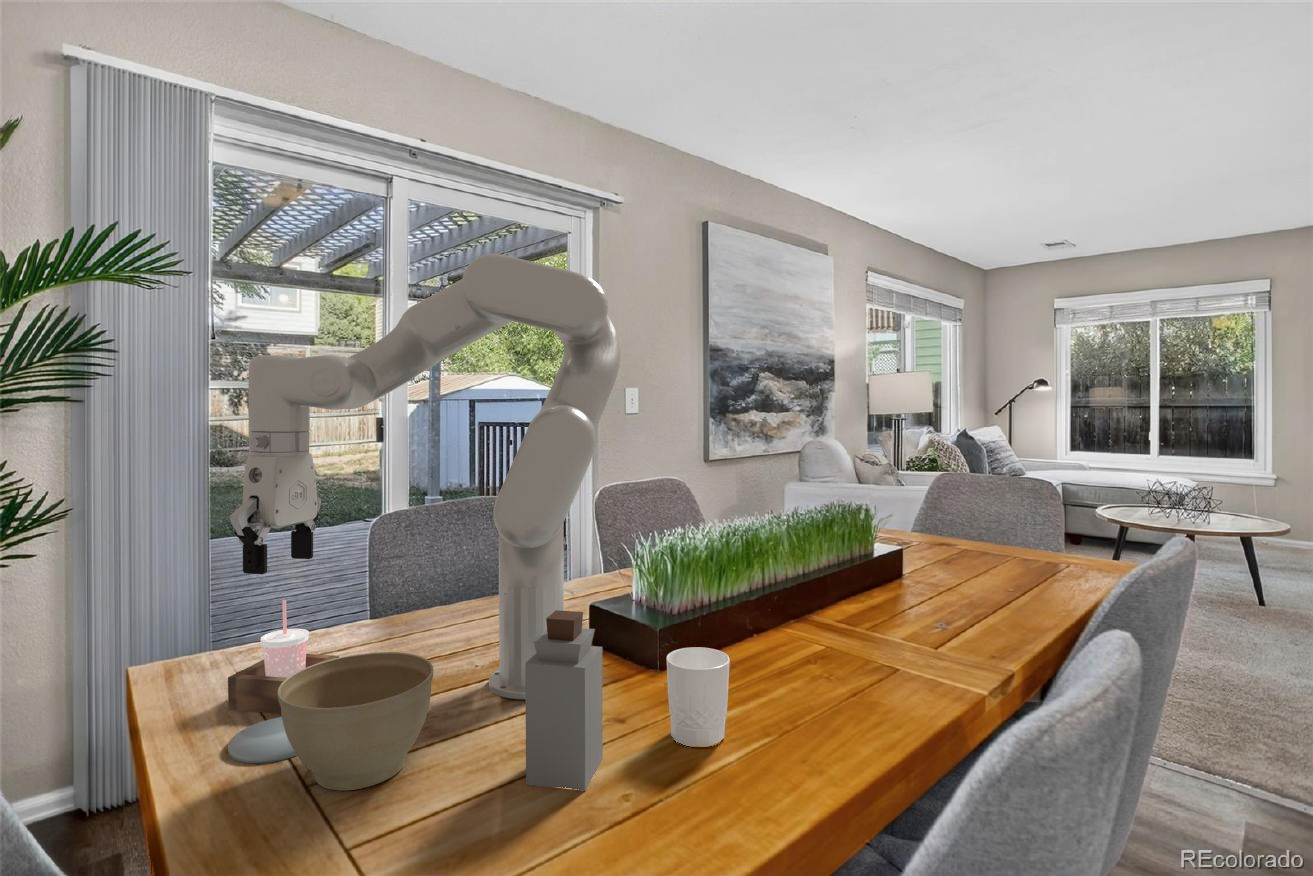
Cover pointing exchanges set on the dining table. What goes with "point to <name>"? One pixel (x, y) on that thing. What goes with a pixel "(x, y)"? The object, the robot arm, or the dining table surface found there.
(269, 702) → the square wooden frame
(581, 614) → the perfume bottle
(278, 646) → the beverage cup
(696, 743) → the white cup
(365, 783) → the planter bowl
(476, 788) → the dining table surface
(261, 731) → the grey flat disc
